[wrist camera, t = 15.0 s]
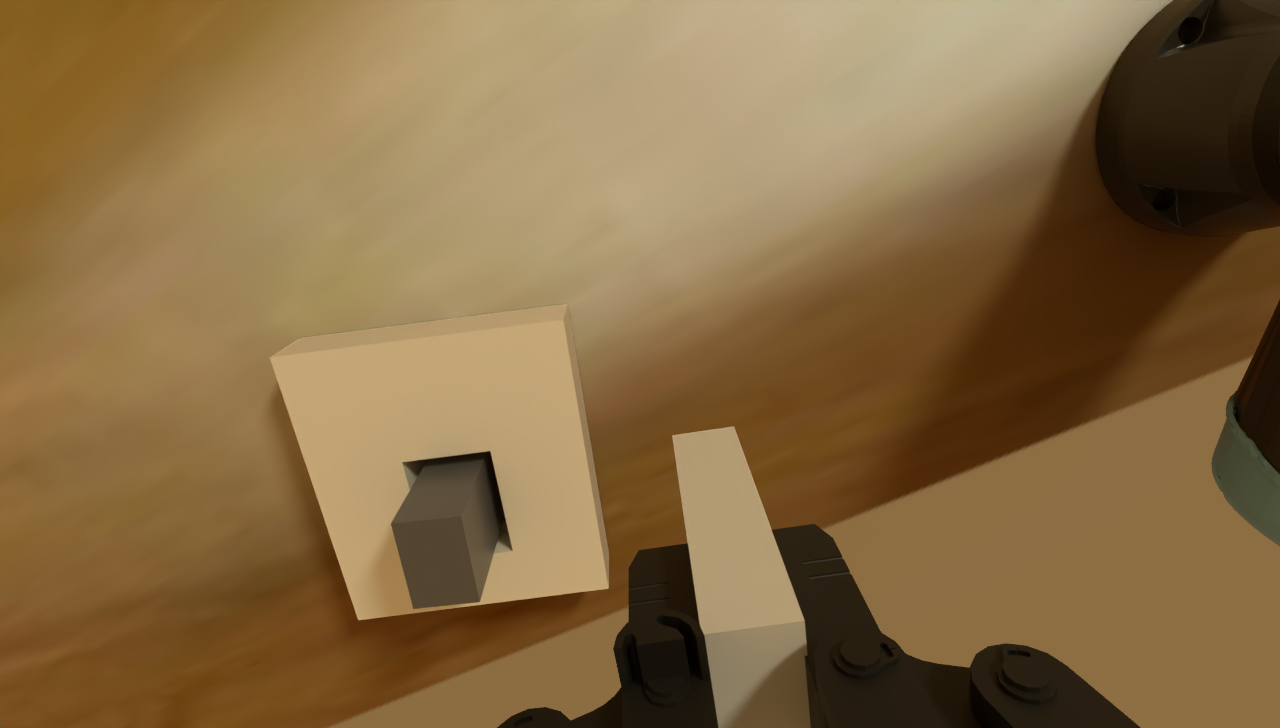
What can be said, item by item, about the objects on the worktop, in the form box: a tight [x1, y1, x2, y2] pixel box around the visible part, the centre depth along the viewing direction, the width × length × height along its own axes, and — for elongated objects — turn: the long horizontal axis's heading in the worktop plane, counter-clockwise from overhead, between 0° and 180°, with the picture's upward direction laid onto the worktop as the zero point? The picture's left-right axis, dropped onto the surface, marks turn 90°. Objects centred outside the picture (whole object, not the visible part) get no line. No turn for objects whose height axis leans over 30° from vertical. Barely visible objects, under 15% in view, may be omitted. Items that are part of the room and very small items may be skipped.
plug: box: [391, 451, 505, 609], centre depth 42 cm, size 4×6×10 cm, turn 5°
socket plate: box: [270, 304, 609, 620], centre depth 44 cm, size 18×20×4 cm
